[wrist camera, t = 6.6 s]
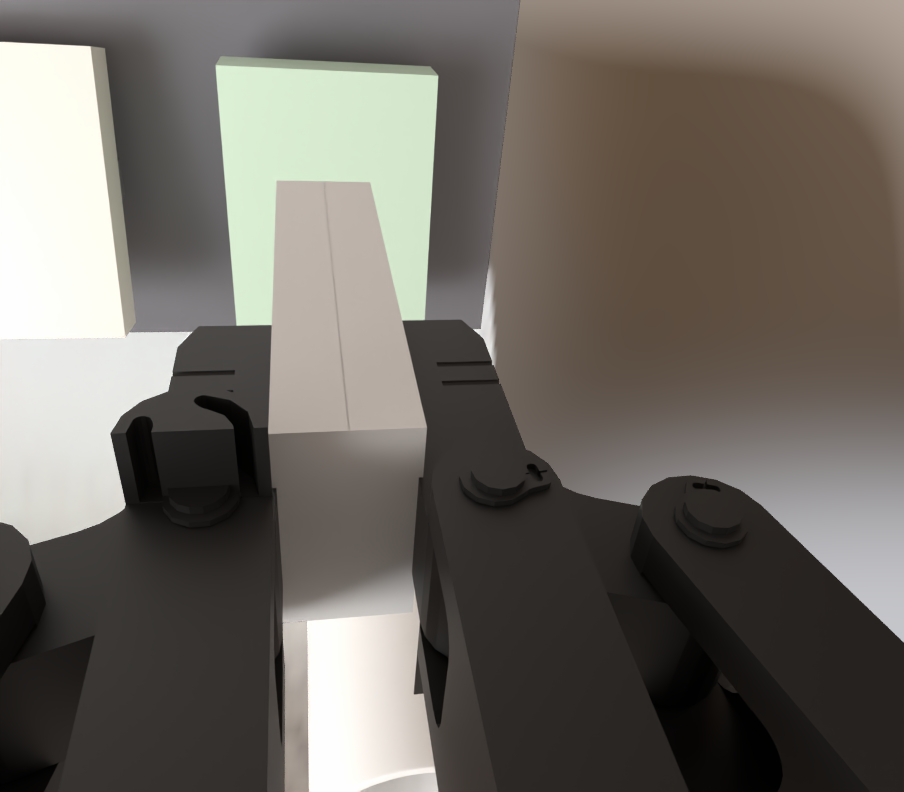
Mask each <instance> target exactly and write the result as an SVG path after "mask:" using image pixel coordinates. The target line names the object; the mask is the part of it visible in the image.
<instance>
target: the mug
mask: <svg viewBox="0 0 904 792" xmlns="http://www.w3.org/2000/svg"><path fill="white" fill-rule="evenodd" d="M419 626H420V619H419V613H418V607H417V601H416V595H415V589H414V600H413V612H409V613H397V614H385V615H373V616H361V617H349V618H338V619H326V620H314V621H307V635H308V746H309V792H438V785H437V779H436V772H435V766H434V759H433V753H432V746H431V740H430V733H429V727H428V720H427V714H426V707H425V700H424V694H415V695H414V684H415V671H416V660H417V649H418V637H419Z"/></svg>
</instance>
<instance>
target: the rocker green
mask: <svg viewBox="0 0 904 792" xmlns="http://www.w3.org/2000/svg"><path fill="white" fill-rule="evenodd" d="M215 66H216V78H217V90H218V103H219V115H220V127H221V140H222V152H223V164H224V177H225V189H226V201H227V214H228V226H229V238H230V251H231V263H232V275H233V288H234V300H235V312H236V325H237V326H241V325H272V302H273V271H274V241H275V211H276V181H332V182H370V184H371V188H372V193H373V197H374V201H375V206H376V210H377V214H378V218H379V223H380V227H381V231H382V236H383V240H384V244H385V249H386V253H387V257H388V262H389V266H390V270H391V275H392V279H393V283H394V287H395V292H396V296H397V300H398V305H399V309H400V313H401V318H402V320H425V305H426V288H427V270H428V252H429V234H430V216H431V198H432V180H433V162H434V144H435V126H436V109H437V91H438V75H437V74H436V72H435V71H434V70H433V69H432V68H431V66H413V65H393V64H372V63H352V62H332V61H311V60H291V59H270V58H250V57H229V56H221V57H220V58H219V60H218V62H217V63H216V65H215Z"/></svg>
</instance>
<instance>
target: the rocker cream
mask: <svg viewBox="0 0 904 792" xmlns="http://www.w3.org/2000/svg"><path fill="white" fill-rule="evenodd" d="M135 323H136V318H135V309H134V300H133V292H132V283H131V274H130V265H129V256H128V248H127V239H126V230H125V221H124V212H123V203H122V195H121V186H120V177H119V168H118V159H117V151H116V142H115V133H114V124H113V115H112V107H111V98H110V89H109V80H108V71H107V63H106V54H105V48H100V47H92V46H74V45H54V44H34V43H14V42H0V339H59V338H126V336H127V335H128V333H129V332H130V330H131V329H132V327H133V326H134V324H135Z"/></svg>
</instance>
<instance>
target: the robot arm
mask: <svg viewBox="0 0 904 792" xmlns="http://www.w3.org/2000/svg"><path fill="white" fill-rule="evenodd" d="M111 438H112V443H113V448H114V452H115V457H116V461H117V466H118V470H119V475H120V480H121V484H122V489H123V493H124V498H125V503H126V506H125V509H124V510H122V511H121V512H120V513H118V514H117V515H115V516H113V517H111V518H109V519H107V520H106V521H104V522H102V523H100V524H98V525H95V526H92V527H90V528H87V529H84V530H81V531H79V532H76V533H72V534H69V535H65V536H62V537H58V538H55V539H51V540H48V541H44V542H41V543H37V544H33V545H29V542H28V540H27V539H26V538H25V537H24V536H23V535H22V534H21V533H20V532H19V531H18V530H16V529H15V528H14V527H13V526H11V525H8V524H4V523H1V522H0V792H284V775H285V665H284V651H283V623H290V622H302V621H314V620H326V619H338V618H349V617H361V616H373V615H385V614H397V613H409V612H413V600H414V589H415V595H416V601H417V607H418V613H419V619H420V626H419V637H418V649H417V660H416V671H415V684H414V695H415V694H424V700H425V707H426V714H427V720H428V727H429V733H430V740H431V746H432V753H433V759H434V766H435V772H436V779H437V785H438V792H904V642H902V641H901V640H900V639H899V638H898V637H897V636H896V635H895V634H894V633H893V632H892V631H891V630H890V629H889V628H888V627H887V626H886V625H885V624H883V622H882V621H881V620H880V619H879V618H877V616H875V615H874V614H873V613H872V612H871V611H870V610H869V609H868V608H867V607H866V606H865V605H864V604H863V603H862V602H861V601H860V600H859V599H858V598H857V597H856V596H855V595H853V593H851V591H850V590H849V589H847V588H846V587H845V586H844V585H843V584H842V583H841V582H840V581H839V580H838V579H837V578H836V577H835V576H834V575H833V574H832V573H831V572H830V571H829V570H828V569H827V568H826V567H825V566H823V565H822V564H821V563H820V562H819V561H818V560H817V559H816V558H815V557H814V556H813V555H812V554H811V553H810V552H809V551H808V550H807V549H806V548H805V547H804V546H803V545H802V544H801V543H800V542H799V541H798V540H797V539H796V538H795V537H793V536H792V535H791V534H790V533H789V532H788V531H787V530H786V529H785V528H784V527H783V526H782V525H781V524H780V523H779V522H778V521H777V520H776V519H775V518H774V517H773V516H772V515H771V514H770V513H768V511H767V510H765V509H764V508H763V507H762V506H761V505H760V504H759V503H757V502H756V501H754V500H753V499H752V498H750V497H749V496H748V495H746V494H745V493H744V492H742V491H741V490H739V489H736V488H734V487H732V486H729V485H727V484H724V483H722V482H720V481H718V480H714V479H708V478H703V477H696V476H680V477H669V478H666V479H664V480H662V481H660V482H658V483H656V484H654V485H652V486H651V487H650V488H649V490H648V491H647V493H646V494H645V496H644V498H643V499H642V501H641V505H640V506H637V505H631V504H625V503H620V502H614V501H609V500H603V499H598V498H594V497H590V496H586V495H582V494H578V493H576V492H573V491H571V490H569V489H566V488H564V487H563V486H562V484H561V481H560V479H559V478H558V477H557V475H556V474H555V472H554V471H553V469H552V468H551V467H550V465H549V464H548V463H547V462H545V461H544V460H542V459H541V458H539V457H538V456H536V455H535V454H533V453H532V452H531V451H527V450H526V449H525V446H524V444H523V441H522V438H521V436H520V433H519V431H518V428H517V425H516V423H515V420H514V418H513V415H512V412H511V410H510V407H509V404H508V402H507V399H506V397H505V394H504V391H503V389H502V386H501V384H499V378H498V376H497V373H496V370H495V368H494V365H492V360H491V357H490V355H489V352H488V350H487V347H486V344H485V342H484V339H483V338H482V337H481V336H480V335H479V334H477V333H476V332H475V331H474V330H473V329H472V328H471V327H469V326H468V325H467V324H466V323H465V322H464V321H462V320H402V318H401V313H400V309H399V305H398V300H397V296H396V292H395V287H394V283H393V279H392V275H391V270H390V266H389V262H388V257H387V253H386V249H385V244H384V240H383V236H382V231H381V227H380V223H379V218H378V214H377V210H376V206H375V201H374V197H373V193H372V188H371V184H370V182H332V181H276V211H275V241H274V271H273V302H272V325H241V326H198V327H197V328H196V329H195V330H194V331H193V332H192V333H191V334H190V336H189V337H188V338H187V339H186V340H185V341H184V342H183V343H182V344H181V345H180V346H179V347H178V349H177V353H176V358H175V363H174V368H173V377H171V382H170V386H169V391H168V392H166V393H163V394H160V395H158V396H155V397H152V398H149V399H147V400H144V401H142V402H140V403H139V404H138V405H136V406H135V407H133V408H132V409H131V410H129V411H128V412H126V413H125V414H124V415H122V416H121V418H120V419H119V421H118V422H117V424H116V426H115V427H114V429H113V431H112V432H111Z"/></svg>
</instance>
